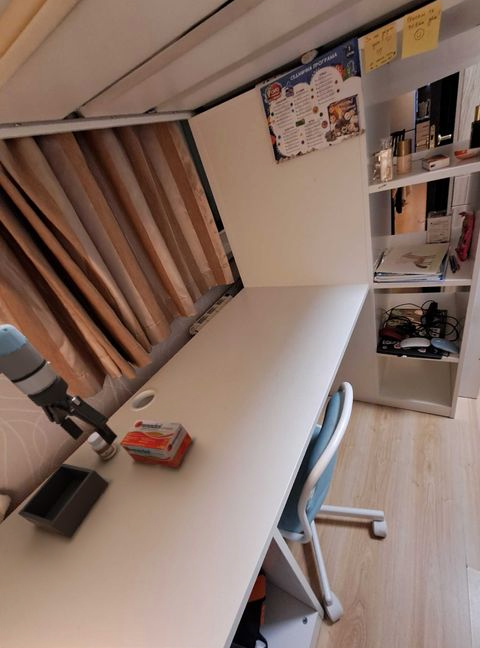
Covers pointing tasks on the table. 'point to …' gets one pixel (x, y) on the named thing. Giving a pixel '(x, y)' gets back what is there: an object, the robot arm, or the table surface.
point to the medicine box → (157, 442)
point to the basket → (64, 499)
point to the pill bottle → (101, 446)
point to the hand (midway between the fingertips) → (95, 438)
